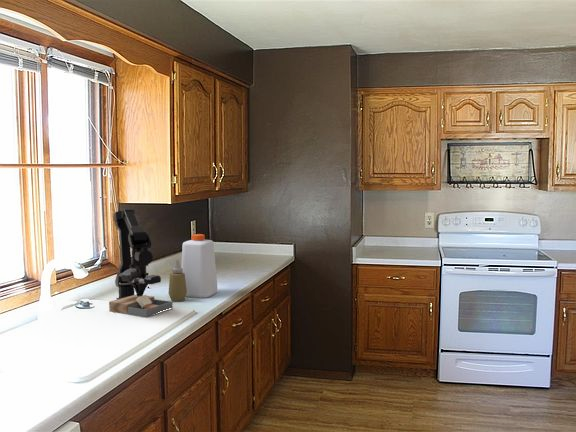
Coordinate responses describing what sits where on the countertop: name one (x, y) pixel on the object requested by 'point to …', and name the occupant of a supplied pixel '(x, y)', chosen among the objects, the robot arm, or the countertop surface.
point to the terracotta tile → (150, 306)
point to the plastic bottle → (199, 267)
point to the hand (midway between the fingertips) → (139, 298)
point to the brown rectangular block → (124, 304)
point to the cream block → (143, 301)
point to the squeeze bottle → (177, 284)
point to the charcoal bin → (142, 312)
